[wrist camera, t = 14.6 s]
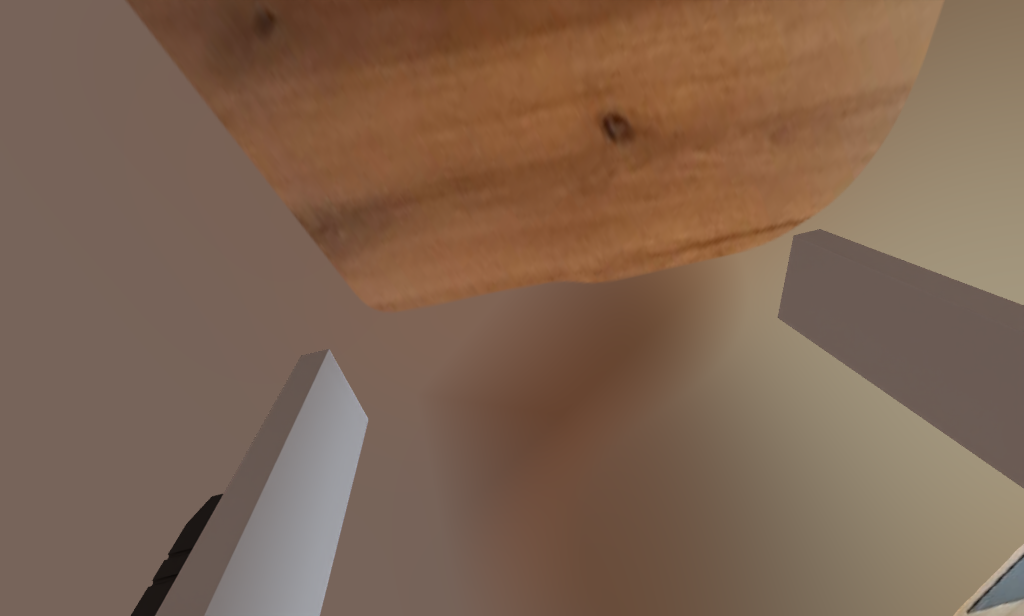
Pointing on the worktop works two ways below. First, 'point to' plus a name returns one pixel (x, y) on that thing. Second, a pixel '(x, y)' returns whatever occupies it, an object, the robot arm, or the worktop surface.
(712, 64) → the worktop surface
